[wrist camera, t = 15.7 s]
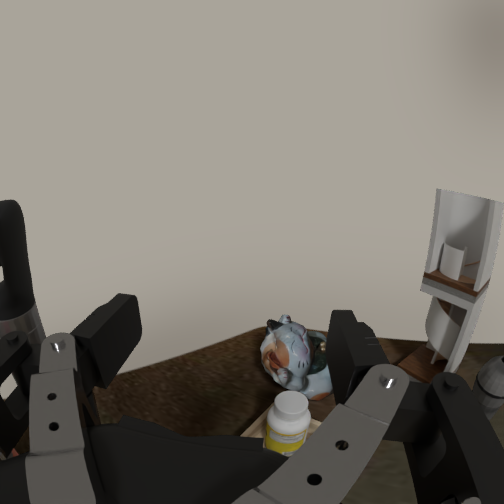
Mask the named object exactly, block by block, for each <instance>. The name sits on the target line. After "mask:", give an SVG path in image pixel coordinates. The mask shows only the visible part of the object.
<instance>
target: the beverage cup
mask: <svg viewBox="0 0 504 504" xmlns="http://www.w3.org/2000/svg"><path fill="white" fill-rule="evenodd" d="M472 392H473V394H474V396H475V397H476V399H477V401H478V402H479V404H480V406H481V408H482V409H483V411H484V413H485V415H486V417H487V418H488V420H490V419H491V418H492V417H493V415H494V414H495V413H496V412H497V410H498V409H499V408H500V406H501V405H502V404H503V403H504V356H497V357H494V358H492V359H491V360H489V361H488V362H487V363H486V364H485V365H484V366H483V367H482V368H481V370H480V371H479V372H478V374H477V376H476V380H475V383H474V386H473V390H472Z"/></svg>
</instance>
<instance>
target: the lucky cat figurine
mask: <svg viewBox="0 0 504 504" xmlns="http://www.w3.org/2000/svg"><path fill="white" fill-rule="evenodd" d="M326 340H327V338H326V337H325V336H324V335H323V334H322V333H320V332H316V331H309V332H307V330H306V328H305V327H304V326H302V325H300V324H298V323H296V322H292V321H291V318H290V316H289V315H282V316H281V318H280V320H279V321H278V322H277V321H275V320H270V319H269V320H268V321H267V328H266V337H265V339H264V341H263V343H262V345H261V347H260V350H261V354H262V356H261V361H262V364H263V366H264V369H265V371H266V372H267V373H268V374H269V375H271V376H272V377H273V379H274V380H275V382H277V383H279V384H280V385H281V386H282V387H284V388H286V389H289V390H291V391H297V392H300V393H302V394H303V395H305V396H306V397H307V398H308V399H310V400H313V401H319V400H321V399H323V398H325V397H327V396H329V395H331V394H332V393H334V392H333V387H332V383H331V378H330V374H329V369H328V365H327V361H326V355H325V347H326Z"/></svg>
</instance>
